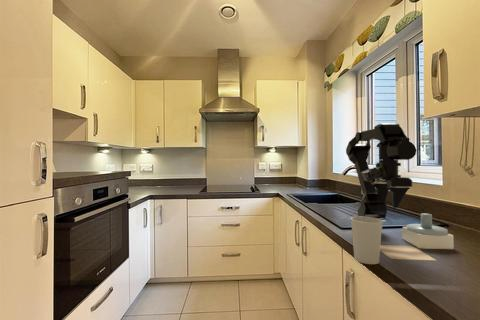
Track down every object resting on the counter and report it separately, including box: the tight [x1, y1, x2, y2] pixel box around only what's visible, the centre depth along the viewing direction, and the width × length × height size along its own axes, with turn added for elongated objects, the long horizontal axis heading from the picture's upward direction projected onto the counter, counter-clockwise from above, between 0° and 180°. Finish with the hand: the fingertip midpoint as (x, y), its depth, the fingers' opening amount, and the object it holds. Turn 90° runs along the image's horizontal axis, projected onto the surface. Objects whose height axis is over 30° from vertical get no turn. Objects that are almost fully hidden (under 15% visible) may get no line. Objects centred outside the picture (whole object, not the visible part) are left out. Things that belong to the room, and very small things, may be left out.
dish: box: [402, 226, 455, 250], centre depth 85 cm, size 10×10×5 cm
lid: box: [406, 212, 449, 236], centre depth 86 cm, size 11×11×6 cm
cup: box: [350, 215, 384, 265], centre depth 72 cm, size 8×8×12 cm
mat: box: [380, 244, 438, 262], centre depth 78 cm, size 12×12×1 cm
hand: (388, 205), depth 89 cm, fingers open, 9 cm apart
